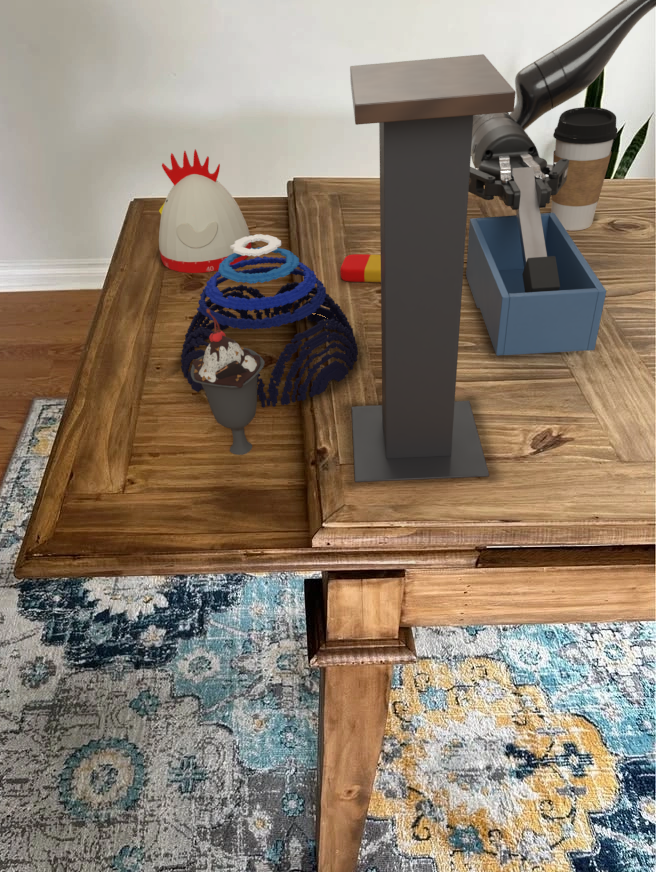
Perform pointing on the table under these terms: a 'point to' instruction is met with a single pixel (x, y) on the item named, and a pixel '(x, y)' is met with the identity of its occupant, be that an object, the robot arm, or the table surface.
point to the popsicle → (361, 268)
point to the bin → (534, 311)
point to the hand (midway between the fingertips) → (529, 200)
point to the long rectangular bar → (533, 237)
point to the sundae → (229, 384)
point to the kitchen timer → (198, 219)
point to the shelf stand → (422, 262)
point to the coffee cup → (582, 163)
